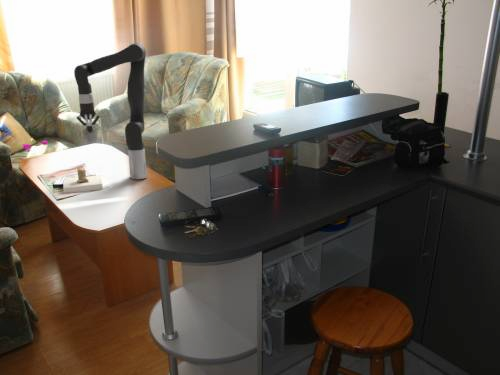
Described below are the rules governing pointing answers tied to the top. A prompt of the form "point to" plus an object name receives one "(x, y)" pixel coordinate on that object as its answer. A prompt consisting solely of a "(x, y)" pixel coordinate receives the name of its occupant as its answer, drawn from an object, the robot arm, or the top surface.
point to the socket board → (82, 184)
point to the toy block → (30, 147)
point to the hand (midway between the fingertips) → (90, 132)
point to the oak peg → (82, 175)
